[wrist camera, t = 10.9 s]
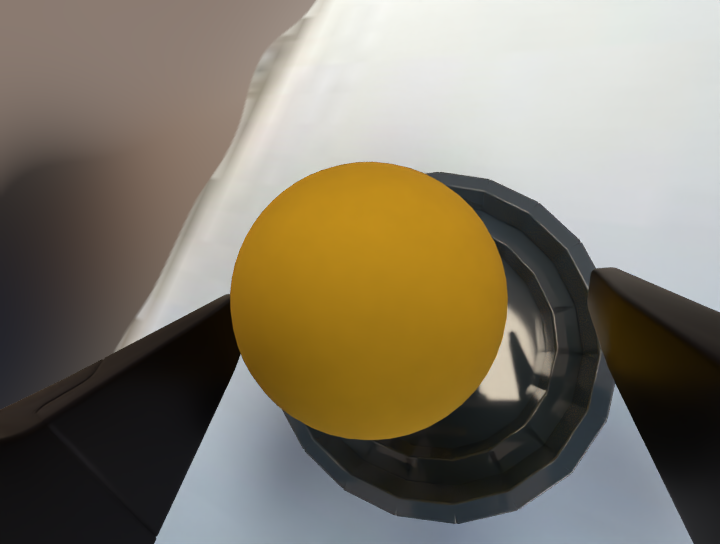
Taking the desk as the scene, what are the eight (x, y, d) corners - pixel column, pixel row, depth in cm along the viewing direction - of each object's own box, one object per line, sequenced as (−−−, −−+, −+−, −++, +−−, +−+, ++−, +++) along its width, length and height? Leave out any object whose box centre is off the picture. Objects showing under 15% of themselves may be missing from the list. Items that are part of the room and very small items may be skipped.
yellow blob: (473, 419, 16) (487, 650, 3) (355, 372, 18) (76, 403, 5) (508, 294, 17) (627, 85, 4) (390, 263, 18) (224, 59, 6)
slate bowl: (541, 534, 15) (569, 604, 10) (280, 415, 19) (226, 431, 15) (606, 243, 16) (653, 202, 12) (354, 195, 21) (325, 154, 17)
